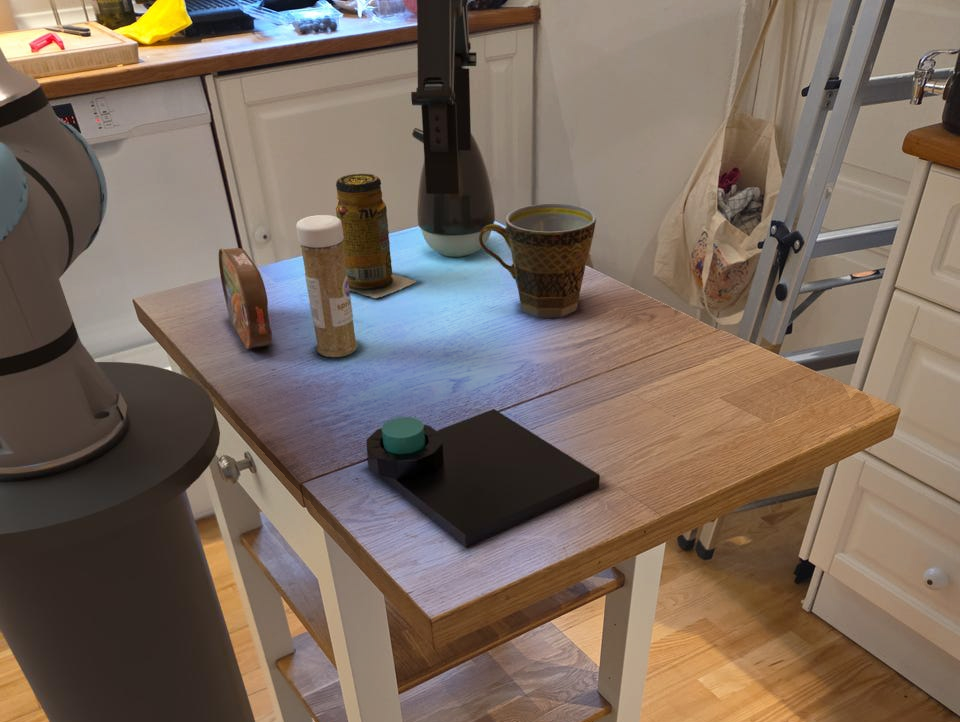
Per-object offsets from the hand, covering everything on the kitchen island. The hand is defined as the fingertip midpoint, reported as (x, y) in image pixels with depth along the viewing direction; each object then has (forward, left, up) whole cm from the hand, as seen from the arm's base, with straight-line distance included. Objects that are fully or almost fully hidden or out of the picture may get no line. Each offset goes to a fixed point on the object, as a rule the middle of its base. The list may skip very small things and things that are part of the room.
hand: (450, 170), depth 79 cm
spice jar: (-13, -7, -19) cm, 24 cm away
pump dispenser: (-30, +21, -19) cm, 41 cm away
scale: (+18, -10, -19) cm, 28 cm away
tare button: (+13, -15, -17) cm, 26 cm away
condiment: (-27, +6, -19) cm, 34 cm away
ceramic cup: (-8, +17, -19) cm, 27 cm away
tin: (-23, -13, -19) cm, 33 cm away
